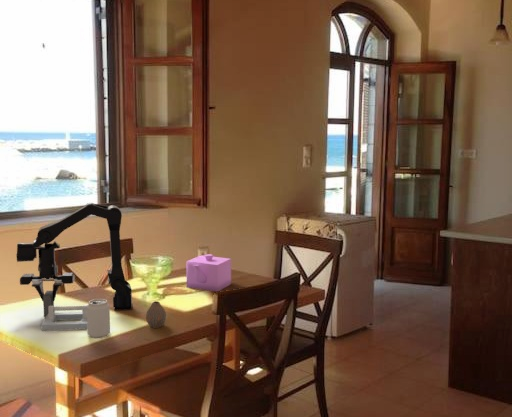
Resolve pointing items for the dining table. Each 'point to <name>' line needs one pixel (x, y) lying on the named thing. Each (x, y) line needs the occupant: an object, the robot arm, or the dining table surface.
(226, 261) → the pink knobbed box
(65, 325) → the square frame
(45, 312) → the tall grey upright block
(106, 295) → the dining table surface
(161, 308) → the vase
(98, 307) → the can
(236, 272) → the dining table surface
